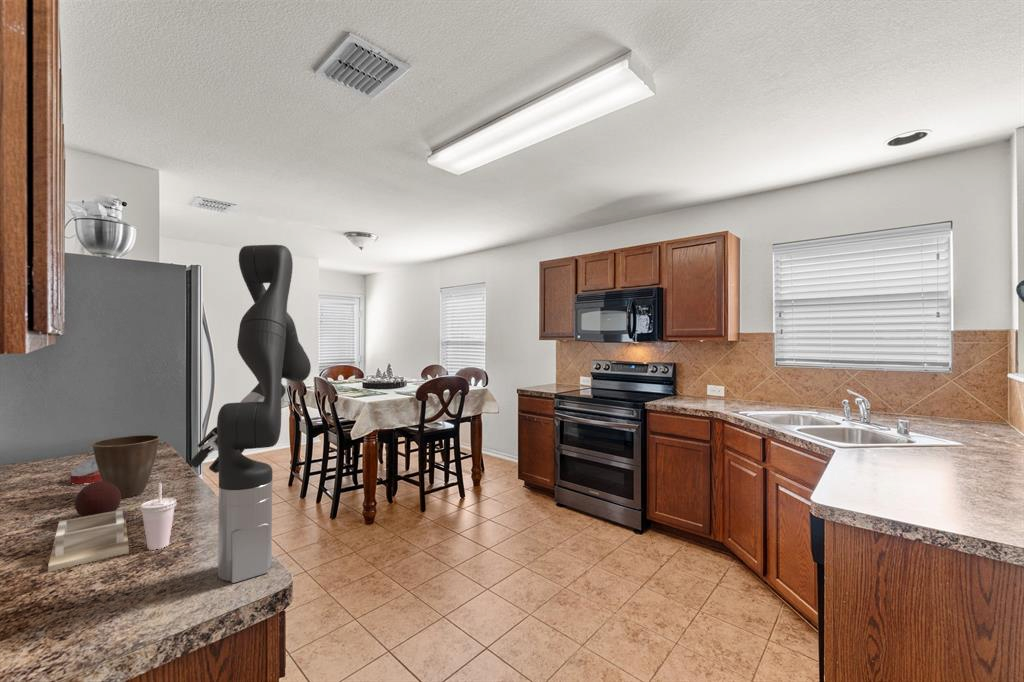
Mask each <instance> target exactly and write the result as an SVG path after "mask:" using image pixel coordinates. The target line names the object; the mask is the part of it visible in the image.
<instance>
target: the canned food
mask: <svg viewBox="0 0 1024 682" xmlns="http://www.w3.org/2000/svg"><path fill="white" fill-rule="evenodd" d="M69 476H70V477H69V480H70V482H69V483H74V484H84V483H92V482H97V481H102V478H101V476H100V473H99V470H98V467H97V463H96V459H95V455H94V456H91V457H89V458H88V459H86V460H83V462H81V463H80V464H78V465H77V466H75V467H74V468H73V469H72V470H71V473H70V475H69Z"/></svg>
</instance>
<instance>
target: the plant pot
mask: <svg viewBox="0 0 1024 682" xmlns="http://www.w3.org/2000/svg"><path fill="white" fill-rule="evenodd" d="M160 438H161V437H160V436H158V435H153V434H147V435H146V434H145V435H144V434H143V435H129V436H128V435H127V436H121V437H113V438H108V439H103V440H99V441H96V442H93V443H92V448H93V453H94V454H93V455H94V456H95V459H96V463H97V467H98V470H99V473H100V476H101V478H102V481H106V482H110V483H112V484H114V485H115V486H116V487H118V489H119V491H120V493H121V499H126V498H125V497H128V498H132V497H131V496H133V497H136V496H139V495H142V494H143V493H144V492H145V490H146V487H147V485H148V482H149V480H150V478H151V475H152V471H153V468H154V466H155V463H156V462H155V461H156V459H157V453H158V449H159V444H160ZM135 495H136V496H135Z"/></svg>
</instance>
